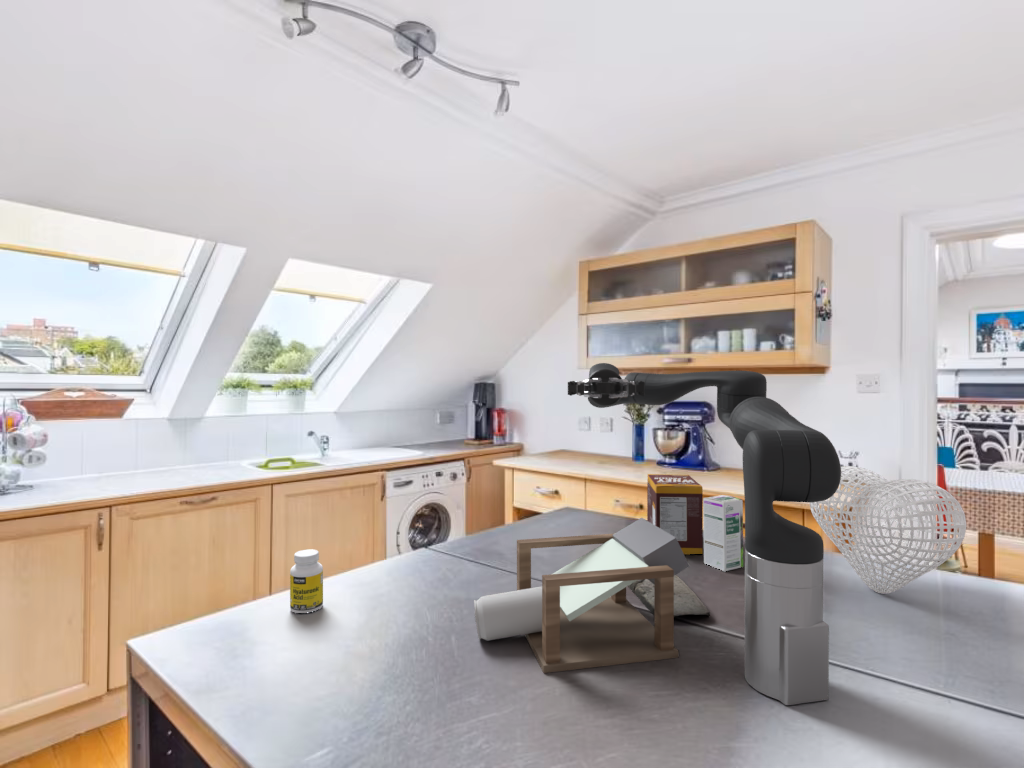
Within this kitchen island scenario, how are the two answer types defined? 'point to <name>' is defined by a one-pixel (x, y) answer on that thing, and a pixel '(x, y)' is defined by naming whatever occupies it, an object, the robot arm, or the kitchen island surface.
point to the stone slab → (683, 597)
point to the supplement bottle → (306, 582)
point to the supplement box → (677, 509)
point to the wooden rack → (598, 615)
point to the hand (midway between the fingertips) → (606, 389)
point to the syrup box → (723, 532)
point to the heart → (882, 484)
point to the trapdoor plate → (620, 564)
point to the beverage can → (509, 614)
